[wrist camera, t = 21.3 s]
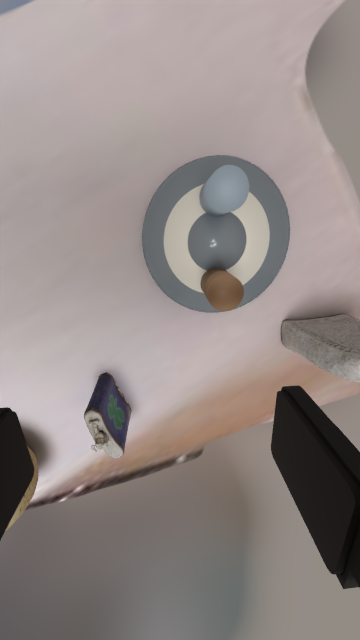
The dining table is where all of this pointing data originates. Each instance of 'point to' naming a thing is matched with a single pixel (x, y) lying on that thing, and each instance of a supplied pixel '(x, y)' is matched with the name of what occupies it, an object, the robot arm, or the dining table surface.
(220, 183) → the smooth blue-gray rounded cylinder
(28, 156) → the dining table surface
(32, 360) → the dining table surface
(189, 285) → the plate
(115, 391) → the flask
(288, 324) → the decorative stone
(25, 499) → the fossilized egg
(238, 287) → the brown rounded cylinder
